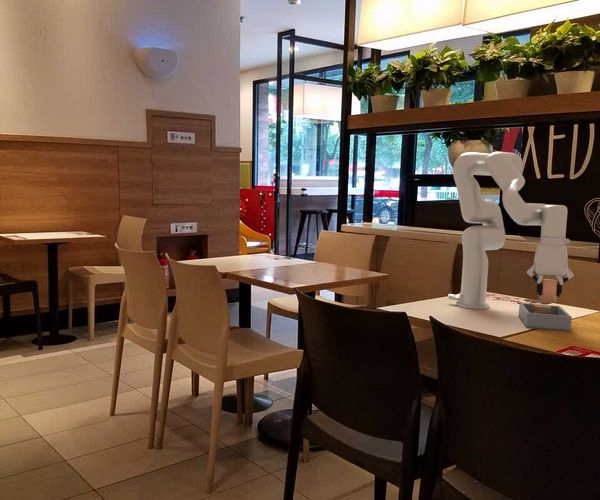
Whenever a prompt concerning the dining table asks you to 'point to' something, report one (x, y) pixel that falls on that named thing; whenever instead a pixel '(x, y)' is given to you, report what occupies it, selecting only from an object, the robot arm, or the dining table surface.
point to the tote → (545, 318)
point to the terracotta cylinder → (549, 290)
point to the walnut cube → (541, 309)
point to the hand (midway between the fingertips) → (548, 294)
